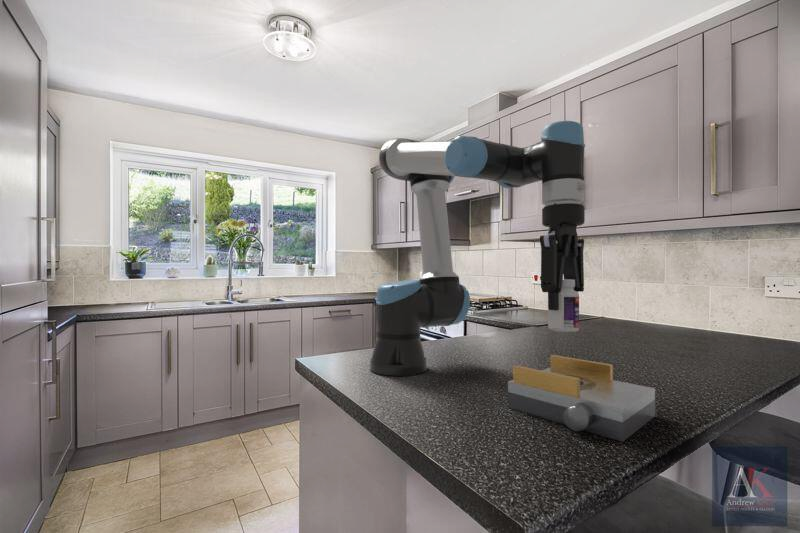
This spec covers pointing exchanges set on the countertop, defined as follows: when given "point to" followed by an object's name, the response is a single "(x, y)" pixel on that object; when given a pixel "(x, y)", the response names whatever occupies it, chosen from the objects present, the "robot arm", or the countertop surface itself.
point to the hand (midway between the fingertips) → (563, 326)
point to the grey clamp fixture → (582, 397)
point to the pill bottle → (570, 307)
